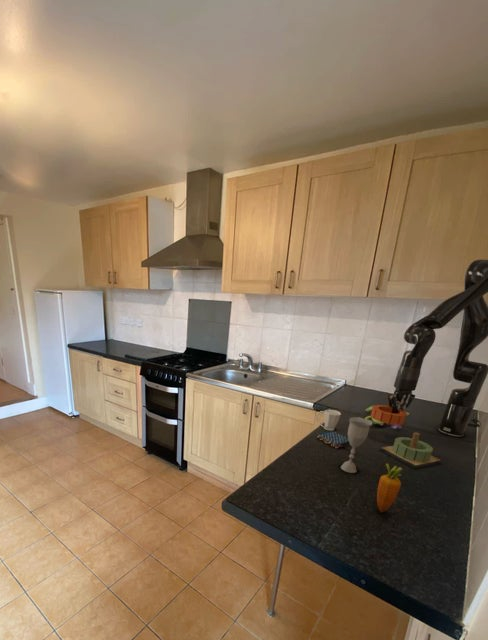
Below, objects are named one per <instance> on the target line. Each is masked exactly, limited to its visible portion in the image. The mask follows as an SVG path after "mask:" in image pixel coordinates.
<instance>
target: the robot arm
mask: <svg viewBox="0 0 488 640" xmlns="http://www.w3.org/2000/svg"><path fill="white" fill-rule="evenodd" d="M463 281H464V285H463V286H464V287H463V289H464V290H463V291H461V292H459V293H456V294H455V295H452V296H450V297H449V298H447V299H445V300H443V301H442V302H440V303H439V304H438V305H437V306H436V307H435V308H434V309H432V311H430V312H429V313H428V314H427V315H426V316H424V317H422V318H420V319H418V320H417V321H415V322H413V323H412V324H411V325H409V326H408V328H406V330H405V331H404V333H403V340H404V341H405V342H406V343H408V344H411V345H414V346H413V347H412V349H411V350H405V351H404V352H403V354H402V358H401V360H400V365H399V368H398V369H397V373H396V377H395V380H394V383H393V387H394V388H395V389H394V391H393V394H392V395H391V394H388V395H387V399H388V406H389V407H391V408H392V413H394V414H398V412H399V409H401V410H404V411H405V409H408V408H409V407H410V406H411V404H412V403H413V401H414V399H415V398H416V394H413V392H415V391H416V389H417V385H418V381H419V379H420V376H421V371H422V366H423V363H424V360H425V357H426V356H427V355H428V353H429V351H430V349H431V348H432V347H433V345H434V343H435V341H436V331H435V330H440V329H443V328H444V327H445V326H447V324H448V323H449V322H451V321H452V320H453V319H454V318H455V317H456V316H458V314H460V313H461V312H462V318H461V324H460V330H459V340H458V341H459V342H458V349H457V352H456V357H455V362H454V366H453V370H452V378H453V379H454V380H455V381H458V382H462V383H467V384H469V385H468V386H467V387H464V388H463V387H462V388H459V387H458V388H453V389H451V392H450V393H449V397H448V399H447V403H446V406H445V408H444V411H443V415H442V418H441V420H440V423H439V426H438V429H437V430H438V432H439V433H441V434H444V435H446V436H450V437H455V438H463V437H464V436H465V433H466V430H467V427H468V426H471V427H472V426H473V427H480V426H479V425H478V424H476V423H478V422H480V420H478V419H477V418H474V419H472V421H473V422H476V423H470V422H469V421H470V419H471V416H472V413H473V410H474V407H475V405H476V402H477V400H478V397H479V395H480V392H481V390H482V388H483V386H484V383H485V380H486V379H487V377H488V364H487V363H484V362H483V363H482V362H477V361H472V360H469V358H470V355H471V353H472V352H473V351H474V350H475V349H476V348H477V347H478V346H479V345H480V344H482V343H483V342H484V341H485V340H486V339H487V338H488V305H487V302H486V300H485V295H486V294H488V259H475V260H473V261H472V262H471V263H470V264H469V265H468V266H467V268H466V271H465V274H464V280H463Z"/></svg>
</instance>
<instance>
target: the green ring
mask: <svg viewBox="0 0 488 640" xmlns="http://www.w3.org/2000/svg"><path fill="white" fill-rule="evenodd" d="M411 440H412V437H406V436H398V437H396V438H395V439H394V442H393V445H392V446H393V449H392V450H393V451H394V452H395V453H397V454H398V455H399V456H401V457H405V458H406V459H410V460H415V461H420V462H425V461H429V460H430V457H431V455H432V454H433V451H434V448H433V447H432V446H431V445H430V444H428V443H426V442H424V441H422V440H419V439H418V442H417V445H416V448H411V447H409V446H410V443H411Z"/></svg>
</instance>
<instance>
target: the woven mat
mask: <svg viewBox="0 0 488 640" xmlns="http://www.w3.org/2000/svg"><path fill="white" fill-rule="evenodd" d="M316 438H317V439H319V441H322V442H324V443H325V444H328V445H330V447H333V448H335V449H338V448H343V447H345V446H344V444H347V443H349V439H348V436H345V435H342V434H340V433H338V432H337V431H325V432H322V433H317V435H316Z"/></svg>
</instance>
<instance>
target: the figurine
mask: <svg viewBox="0 0 488 640" xmlns="http://www.w3.org/2000/svg"><path fill="white" fill-rule="evenodd" d="M375 405H376V404H375ZM375 405H371V406H369V407H367V408H366V409H365V412H367V413H368V412H370V411H372V408H373V406H375ZM405 412H406V413H407V415H406V417H408V416H409V415H410V413H409V412H407V411H405ZM357 418H361V416H358V417H357ZM364 419H366V420H369V421H371V422H372V425H379V426H381V427H382V426H384V423H383V422H381V421H377V420H375V419H373V418H372V417H371V415H367V416H365V418H364ZM390 428H392V429H393V430H402V425H393V424H391V426H390Z"/></svg>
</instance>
